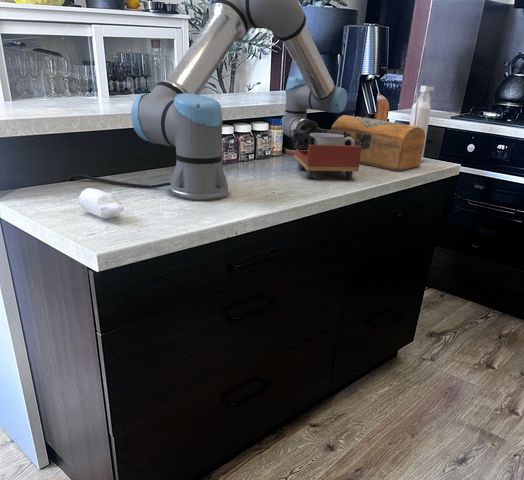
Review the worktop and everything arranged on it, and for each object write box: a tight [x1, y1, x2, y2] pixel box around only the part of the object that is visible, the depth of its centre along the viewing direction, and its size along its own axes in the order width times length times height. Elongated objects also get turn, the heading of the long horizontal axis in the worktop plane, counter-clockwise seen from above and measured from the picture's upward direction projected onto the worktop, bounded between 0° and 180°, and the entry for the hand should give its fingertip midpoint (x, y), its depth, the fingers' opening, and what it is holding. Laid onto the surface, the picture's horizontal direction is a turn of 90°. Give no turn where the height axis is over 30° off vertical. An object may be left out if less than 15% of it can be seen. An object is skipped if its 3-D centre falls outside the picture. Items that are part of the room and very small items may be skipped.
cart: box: [294, 145, 362, 180], centre depth 165 cm, size 16×19×10 cm
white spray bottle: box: [409, 85, 435, 162], centre depth 188 cm, size 7×12×25 cm, turn 140°
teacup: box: [309, 133, 354, 146], centre depth 162 cm, size 14×11×8 cm
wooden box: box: [330, 114, 425, 172], centre depth 185 cm, size 30×16×14 cm, turn 46°
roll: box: [78, 187, 125, 219], centre depth 116 cm, size 6×12×6 cm, turn 48°
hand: (332, 142), depth 159 cm, fingers closed on teacup, 12 cm apart
